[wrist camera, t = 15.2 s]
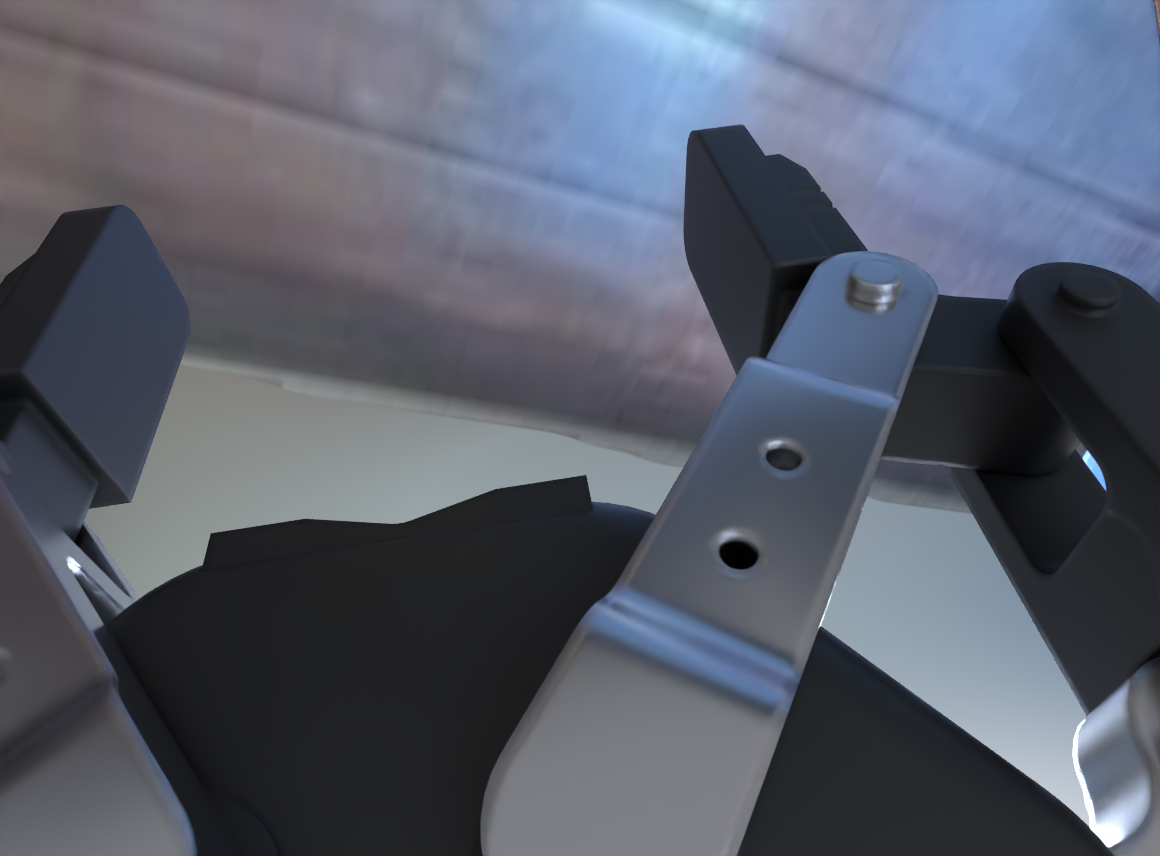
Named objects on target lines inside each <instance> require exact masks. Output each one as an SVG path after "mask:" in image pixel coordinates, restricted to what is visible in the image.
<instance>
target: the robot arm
mask: <svg viewBox="0 0 1160 856" xmlns="http://www.w3.org/2000/svg"><path fill="white" fill-rule="evenodd" d="M820 189H821V188H820V187H819V185H818V184H817V183H816V181H815V180H814V179H813V177H812V176H811V175H810V173H809V172H808V171H807V169H805V168H804V167H802V166H800V165H798V164H797V163H795V162H793V161H791V160H789V159H788V158H786V157H784V156H782V155H781V154H776V155H769V156H765V155H764V153H763V152H762V150H761V149H760V148H759V146H758V145H757V143H756V142H755V140H754V139H753V137H752V136H751V135H750V133H749V132H748V130H747V129H746V127H745V126H744V125H742V124H741V125H733V126H725V127H718V128H710V129H703V130H695V131H692V132H691V133H690V135H689V138H688V144H687V159H686V183H685V207H684V244H685V252H686V257H687V261H688V265H689V268H690V270H691V272H692V275H693V277H694V279H695V281H696V284H697V286H698V288H699V291H700V293H701V295H702V297H703V300H704V302H705V304H706V307H707V309H708V311H709V313H710V316H711V318H712V320H713V322H714V325H715V327H716V329H717V332H718V334H719V336H720V338H721V341H722V343H723V345H724V348H725V350H726V352H727V354H728V357H729V359H730V361H731V363H732V366H733V368H734V370H735V373H736V375H737V376H736V378H735V380H734V381H733V383H732V385H731V387H730V388H729V390H728V392H727V394H726V395H725V397H724V399H723V400H722V402H721V404H720V406H719V407H718V409H717V411H716V412H715V414H714V416H713V418H712V419H711V421H710V423H709V425H708V426H707V428H706V430H705V431H704V433H703V435H702V437H701V438H700V440H699V442H698V443H697V445H696V447H695V449H694V450H693V452H692V454H691V456H690V457H689V459H688V461H687V462H686V464H685V466H684V468H683V469H682V471H681V473H680V475H679V476H678V478H677V480H676V482H675V483H674V485H673V487H672V488H671V490H670V492H669V493H668V495H667V497H666V499H665V500H664V502H663V504H662V506H661V507H660V509H659V511H658V512H657V514H656V515H655V514H652V513H650V512H646V511H642V510H639V509H635V508H632V507H628V506H622V505H616V504H611V503H601V502H591V497H590V493H589V487H588V482H587V478H586V475H585V476H578V477H571V478H565V479H559V480H552V481H546V482H539V483H533V484H527V485H520V486H513V487H507V488H500V489H495V490H492V491H490V492H487V493H484V494H481V495H479V496H476V497H474V498H471V499H468V500H465V501H463V502H460V503H457V504H454V505H452V506H449V507H446V508H444V509H441V510H438V511H436V512H433V513H430V514H427V515H425V516H422V517H419V518H417V519H414V520H411V521H408V522H405V523H399V524H382V523H366V522H349V521H331V520H314V519H302V520H295V521H288V522H282V523H275V524H269V525H262V526H256V527H250V528H243V529H237V530H231V531H224V532H217V533H211V535H210V539H209V543H208V547H207V551H206V555H205V559H204V563H203V565H202V566H199V567H197V568H194V569H192V570H190V571H188V572H186V573H183V574H181V575H179V576H177V577H175V578H173V579H171V580H169V581H167V582H165V583H164V584H162V585H160V586H159V587H157V588H155V589H153V590H152V591H150V592H148V593H147V594H145V595H144V596H143V597H141V598H140V599H139V598H138V596H137V595H136V593H135V592H134V590H133V589H132V587H131V586H130V584H129V583H128V581H127V580H126V578H125V577H124V575H123V574H122V572H121V571H120V569H119V568H118V567H117V565H116V563H115V562H114V560H113V559H112V557H111V556H110V555H109V553H108V552H107V550H106V549H105V547H104V546H103V544H102V543H101V541H100V540H99V538H98V537H97V535H96V534H95V533H94V532H93V531H92V530H91V529H90V528H89V527H88V526H87V525H86V524H85V523H84V519H85V516H86V514H87V512H88V509H91V508H97V507H104V506H110V505H117V504H123V503H130V502H131V500H132V498H133V495H134V492H135V490H136V486H137V484H138V481H139V478H140V475H141V473H142V470H143V467H144V464H145V461H146V458H147V456H148V453H149V450H150V447H151V444H152V441H153V438H154V436H155V433H156V430H157V427H158V424H159V421H160V419H161V416H162V413H163V410H164V407H165V404H166V402H167V399H168V396H169V393H170V390H171V387H172V385H173V382H174V379H175V376H176V373H177V370H178V368H179V365H180V362H181V359H182V356H183V353H184V351H185V348H186V345H187V342H188V339H189V336H190V319H189V313H188V309H187V306H186V303H185V301H184V298H183V296H182V294H181V292H180V291H179V289H178V287H177V285H176V283H175V282H174V280H173V278H172V276H171V275H170V273H169V271H168V269H167V268H166V266H165V264H164V262H163V260H162V259H161V257H160V255H159V253H158V252H157V250H156V248H155V246H154V244H153V243H152V241H151V239H150V237H149V236H148V234H147V232H146V230H145V229H144V227H143V225H142V223H141V222H140V220H139V218H138V217H137V216H136V215H135V213H134V212H133V211H132V210H131V209H129V208H128V207H126V206H124V205H116V206H108V207H101V208H93V209H86V210H78V211H70V212H65V213H63V214H62V215H61V216H60V217H59V219H58V220H57V222H56V223H55V225H54V226H53V228H52V229H51V231H50V232H49V234H48V235H47V237H46V238H45V240H44V241H43V243H42V244H41V246H40V247H39V249H38V250H37V252H36V253H35V254H34V255H32V256H31V257H30V258H29V259H27V260H26V261H25V262H23V263H22V264H21V265H20V266H18V267H17V268H16V269H14V270H13V271H12V272H11V273H9V274H8V275H7V276H6V277H5V278H4V280H3V281H2V283H1V284H0V856H1160V304H1159V303H1158V302H1157V301H1156V300H1155V299H1154V298H1152V297H1151V296H1150V295H1149V294H1148V293H1147V292H1146V291H1145V290H1144V289H1143V288H1141V287H1140V286H1139V285H1137V284H1136V283H1134V282H1133V281H1131V280H1129V279H1127V278H1125V277H1123V276H1121V275H1119V274H1117V273H1114V272H1112V271H1109V270H1106V269H1103V268H1099V267H1096V266H1091V265H1086V264H1080V263H1069V262H1056V263H1047V264H1041V265H1038V266H1034V267H1032V268H1030V269H1028V270H1026V271H1024V272H1023V273H1022V274H1021V275H1020V276H1019V277H1018V279H1017V280H1016V282H1015V285H1014V287H1013V289H1012V291H1011V294H1010V296H1009V298H1008V300H1000V299H985V298H970V297H955V296H945V295H939V294H938V289H937V286H936V283H935V281H934V280H933V278H932V277H931V276H930V275H929V274H928V273H927V272H926V271H925V270H924V269H922V268H921V267H919V266H918V265H916V264H914V263H912V262H910V261H908V260H906V259H903V258H901V257H898V256H894V255H891V254H886V253H880V252H870V251H868V250H867V249H866V247H865V246H864V245H863V243H862V242H861V241H860V239H859V238H858V237H857V235H856V234H855V233H854V231H853V230H852V229H851V227H850V226H849V225H848V223H847V222H846V221H845V220H844V218H843V217H842V216H841V214H840V213H839V212H838V210H837V209H836V208H832V202H831V201H830V200H829V198H828V197H827V196H826V194H825V193H824V192H821V191H820ZM1080 441H1081V443H1082V444H1083V445H1084V447H1085V448H1086V449H1087V451H1088V452H1089V453H1090V455H1091V456H1092V457H1093V459H1094V460H1095V461H1096V463H1097V464H1098V466H1099V467H1100V469H1101V472H1102V474H1103V477H1104V480H1105V485H1106V490H1105V489H1104V487H1103V486H1102V485H1101V483H1100V482H1099V481H1098V479H1097V478H1096V477H1095V475H1094V474H1093V473H1092V471H1091V470H1090V469H1089V467H1088V466H1087V464H1086V463H1085V462H1084V460H1083V459H1082V458H1081V456H1080V455H1079V454H1078V452H1077V451H1076V450H1075V448H1076V446H1077V445H1078V443H1079V442H1080ZM880 459H881V460H890V461H900V462H909V463H919V464H928V465H938V466H946V468H947V470H948V471H949V473H950V475H951V477H952V478H953V480H954V482H955V484H956V486H957V487H958V489H959V491H960V493H961V494H962V496H963V498H964V500H965V501H966V503H967V505H968V507H969V509H970V510H971V512H972V514H973V516H974V517H975V519H976V521H977V523H978V524H979V526H980V528H981V530H982V532H983V533H984V535H985V537H986V539H987V540H988V542H989V544H990V546H991V547H992V549H993V551H994V553H995V554H996V556H997V558H998V560H999V562H1000V563H1001V565H1002V567H1003V569H1004V570H1005V572H1006V574H1007V576H1008V578H1009V579H1010V581H1011V583H1012V585H1013V586H1014V588H1015V590H1016V592H1017V594H1018V595H1019V597H1020V599H1021V601H1022V602H1023V604H1024V606H1025V608H1026V609H1027V611H1028V613H1029V615H1030V616H1031V618H1032V620H1033V622H1034V624H1035V625H1036V627H1037V629H1038V631H1039V632H1040V634H1041V636H1042V638H1043V640H1044V641H1045V643H1046V644H1047V647H1048V648H1049V650H1050V652H1051V653H1052V655H1053V657H1054V659H1055V661H1056V663H1057V664H1058V666H1059V668H1060V670H1061V671H1062V673H1063V675H1064V677H1065V678H1066V680H1067V682H1068V684H1069V685H1070V687H1071V689H1072V691H1073V692H1074V694H1075V696H1076V698H1077V700H1078V701H1079V703H1080V705H1081V707H1082V709H1083V710H1084V712H1085V714H1086V717H1085V719H1084V720H1083V721H1082V722H1081V724H1080V725H1079V727H1078V729H1077V731H1076V734H1075V737H1074V742H1073V760H1074V765H1075V770H1076V773H1077V776H1078V778H1079V781H1080V784H1081V786H1082V789H1083V792H1084V794H1085V795H1084V798H1085V805H1086V808H1087V811H1088V813H1089V815H1090V827H1089V826H1087V824H1086V823H1084V822H1083V821H1082V820H1081V819H1080V818H1079V817H1078V816H1077V815H1076V814H1075V813H1074V812H1073V811H1072V810H1070V809H1069V808H1068V807H1067V806H1066V805H1065V804H1063V803H1062V802H1061V801H1060V800H1059V799H1057V798H1056V797H1055V796H1053V795H1052V794H1051V793H1049V792H1048V791H1047V790H1046V789H1044V788H1043V787H1041V786H1040V785H1039V784H1038V783H1036V782H1035V781H1033V780H1032V779H1031V778H1029V777H1028V776H1026V775H1025V774H1024V773H1022V772H1021V771H1020V770H1018V769H1017V768H1016V767H1014V766H1013V765H1011V764H1010V763H1009V762H1007V761H1006V760H1004V759H1003V758H1002V757H1000V756H999V755H998V754H996V753H995V752H994V751H992V750H991V749H989V748H988V747H987V746H985V745H984V744H982V743H981V742H980V741H978V740H977V739H976V738H974V737H973V736H971V735H970V734H969V733H967V732H966V731H965V730H963V729H962V728H960V727H959V726H957V725H956V724H955V723H954V722H952V721H951V720H949V719H948V718H947V717H945V716H944V715H943V714H941V713H940V712H938V711H937V710H936V709H934V708H933V707H932V706H930V705H929V704H927V703H926V702H925V701H923V700H922V699H921V698H919V697H918V696H916V695H915V694H914V693H912V692H911V691H909V690H908V689H907V688H905V687H904V686H902V685H901V684H900V683H898V682H897V681H896V680H894V679H893V678H892V677H890V676H889V675H887V674H886V673H885V672H883V671H882V670H881V669H879V668H878V667H876V666H875V665H874V664H872V663H871V662H869V661H868V660H867V659H865V658H864V657H863V656H861V655H860V654H858V653H857V652H856V651H854V650H853V649H852V648H850V647H849V646H847V645H846V644H845V643H843V642H842V641H841V640H839V639H838V638H836V637H835V636H834V635H832V634H831V633H829V632H828V631H827V630H825V629H824V628H823V627H821V623H822V621H823V618H824V615H825V612H826V609H827V607H828V604H829V601H830V598H831V595H832V593H833V590H834V587H835V584H836V582H837V579H838V576H839V573H840V570H841V568H842V565H843V562H844V559H845V556H846V554H847V551H848V548H849V545H850V542H851V540H852V537H853V534H854V531H855V528H856V526H857V523H858V520H859V517H860V515H861V512H862V509H863V506H864V503H865V501H866V498H867V495H868V492H869V490H870V487H871V484H872V481H873V478H874V476H875V473H876V470H877V467H878V464H879V462H880Z"/></svg>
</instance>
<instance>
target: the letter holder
mask: <svg viewBox="0 0 1160 856" xmlns="http://www.w3.org/2000/svg"><path fill="white" fill-rule="evenodd" d="M1153 1H1154V7H1155V14H1156V20H1157V26H1158V34H1159V41H1160V0H1153Z"/></svg>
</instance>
